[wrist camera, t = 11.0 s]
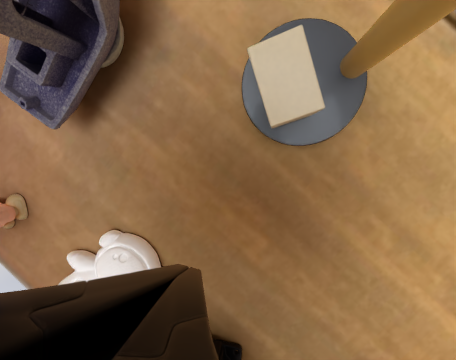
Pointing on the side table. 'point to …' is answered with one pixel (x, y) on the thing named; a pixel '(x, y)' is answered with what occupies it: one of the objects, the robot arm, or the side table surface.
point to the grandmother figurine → (12, 211)
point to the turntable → (324, 70)
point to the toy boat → (57, 52)
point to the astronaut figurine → (112, 258)
